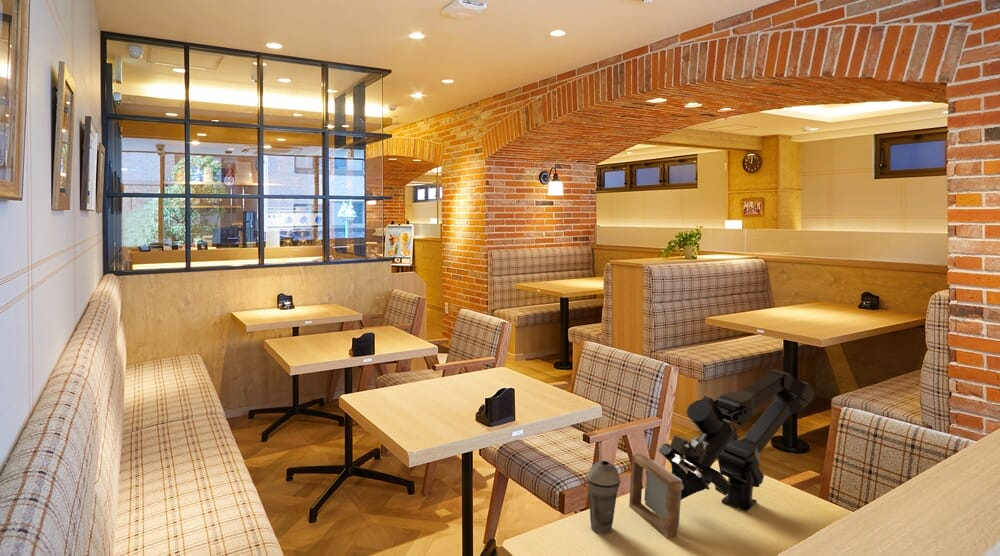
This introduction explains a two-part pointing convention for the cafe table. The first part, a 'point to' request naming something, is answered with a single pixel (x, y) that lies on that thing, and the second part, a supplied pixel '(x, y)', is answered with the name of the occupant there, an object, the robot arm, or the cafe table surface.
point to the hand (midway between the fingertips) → (671, 497)
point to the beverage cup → (602, 494)
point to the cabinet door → (658, 494)
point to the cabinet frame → (672, 497)
